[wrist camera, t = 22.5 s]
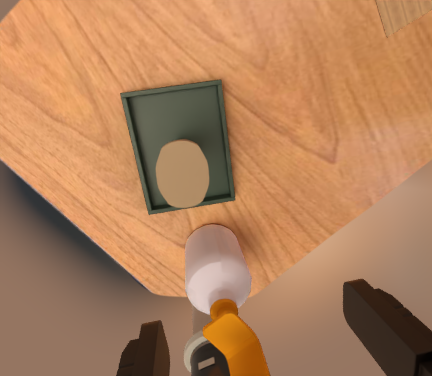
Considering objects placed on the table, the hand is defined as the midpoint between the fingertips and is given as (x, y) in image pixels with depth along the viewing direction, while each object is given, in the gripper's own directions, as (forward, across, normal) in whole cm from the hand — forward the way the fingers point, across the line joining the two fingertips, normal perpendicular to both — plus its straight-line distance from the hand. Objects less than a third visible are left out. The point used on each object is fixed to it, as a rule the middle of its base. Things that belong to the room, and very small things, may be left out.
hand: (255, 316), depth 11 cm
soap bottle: (+31, +1, +14) cm, 34 cm away
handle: (+30, +3, -3) cm, 30 cm away
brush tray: (+30, +3, -3) cm, 31 cm away
